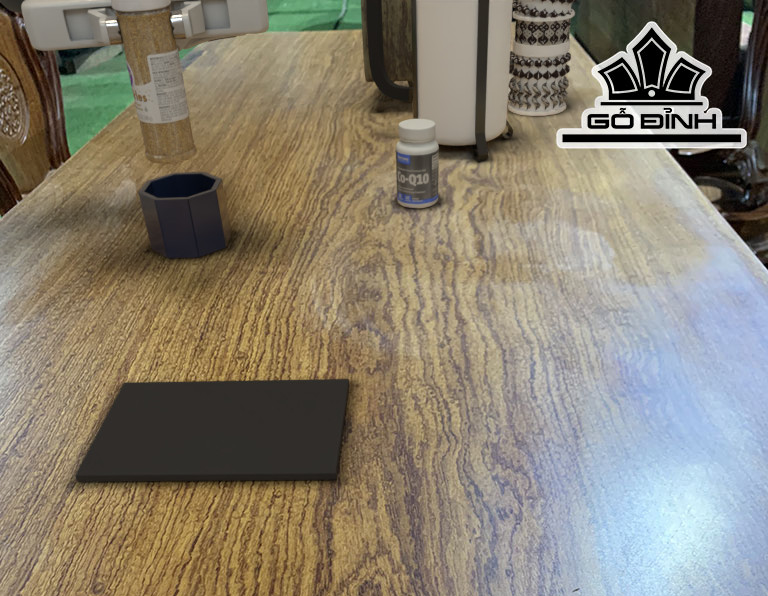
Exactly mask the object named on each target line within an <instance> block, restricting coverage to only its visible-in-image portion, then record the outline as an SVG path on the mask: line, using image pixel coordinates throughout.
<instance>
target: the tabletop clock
mask: <svg viewBox="0 0 768 596" xmlns="http://www.w3.org/2000/svg"><path fill="white" fill-rule="evenodd" d="M360 17H361V18H360V19H361V37H362V54H363V68H364V79H365V82H366V83H375V82H374V80H373V78H372V74H371V70H370V64H369V52H368V34H367V12H366V0H360ZM382 24H383V49H384V65H385V70H386V73H387V75H388V77H389V78H390V80H391V81H392V82H393V83H395V82H407V84H408V87H413V75H412V26H411V0H382ZM385 98H386V95H384V94H383V93H382V92H381V91H380V96H379V98H378V99H376V100H374V103H373V107H374V109H375V110H376V111H377V112H381V111H384V109H385V107H386V104H385V103H386V102H385V101H384V99H385Z"/></svg>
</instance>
